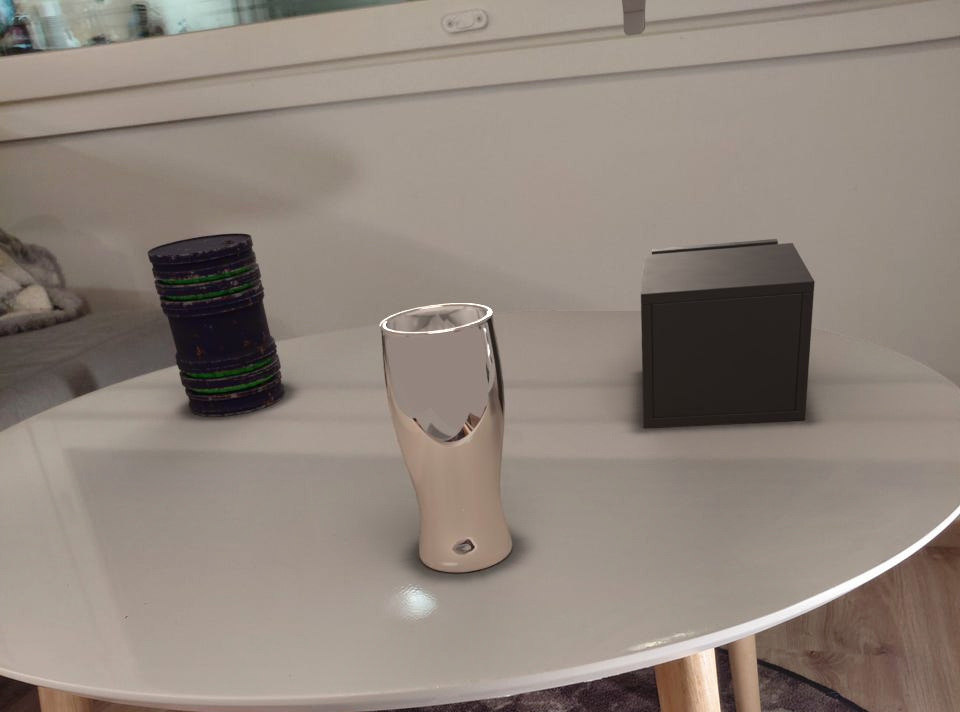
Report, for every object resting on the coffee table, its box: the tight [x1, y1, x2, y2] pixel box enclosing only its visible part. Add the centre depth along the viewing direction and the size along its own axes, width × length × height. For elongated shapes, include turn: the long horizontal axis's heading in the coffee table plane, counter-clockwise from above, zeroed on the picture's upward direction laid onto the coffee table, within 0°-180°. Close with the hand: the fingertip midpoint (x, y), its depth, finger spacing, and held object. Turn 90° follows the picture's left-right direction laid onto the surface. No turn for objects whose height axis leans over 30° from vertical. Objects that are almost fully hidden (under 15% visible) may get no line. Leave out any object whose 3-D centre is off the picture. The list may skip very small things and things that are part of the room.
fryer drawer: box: [651, 238, 779, 255], centre depth 90 cm, size 18×11×9 cm, turn 171°
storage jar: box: [146, 232, 286, 418], centre depth 95 cm, size 10×10×15 cm
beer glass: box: [379, 302, 513, 574], centre depth 60 cm, size 7×7×15 cm
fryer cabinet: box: [640, 242, 816, 429], centre depth 81 cm, size 15×13×11 cm
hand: (634, 34), depth 90 cm, fingers open, 4 cm apart
